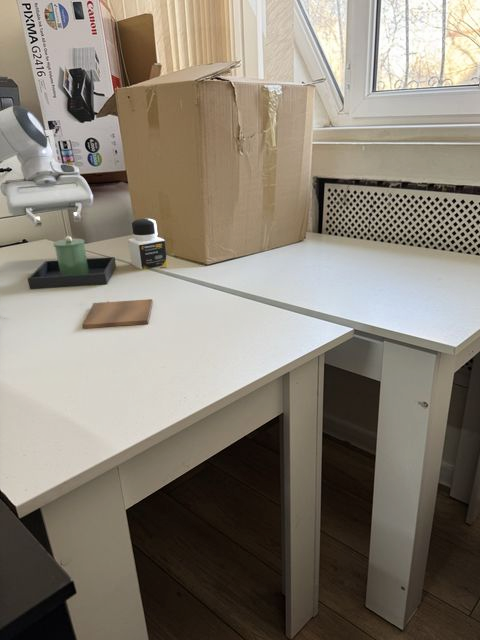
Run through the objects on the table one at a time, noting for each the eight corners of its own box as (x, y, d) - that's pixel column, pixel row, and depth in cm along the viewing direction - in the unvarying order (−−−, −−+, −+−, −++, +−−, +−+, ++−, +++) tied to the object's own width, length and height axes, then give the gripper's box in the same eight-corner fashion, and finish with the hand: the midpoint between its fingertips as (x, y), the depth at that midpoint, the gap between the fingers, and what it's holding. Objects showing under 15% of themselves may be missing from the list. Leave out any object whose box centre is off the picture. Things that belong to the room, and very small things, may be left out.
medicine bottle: (142, 271, 128) (136, 223, 123) (131, 266, 133) (124, 219, 128) (168, 266, 131) (162, 219, 126) (156, 261, 137) (150, 215, 132)
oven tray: (30, 291, 116) (27, 278, 114) (47, 272, 129) (45, 261, 128) (107, 286, 117) (105, 273, 116) (116, 268, 131) (114, 256, 130)
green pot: (57, 282, 120) (48, 240, 115) (64, 273, 126) (56, 233, 122) (87, 280, 120) (80, 238, 116) (93, 272, 127) (85, 232, 122)
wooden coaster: (82, 328, 94) (82, 324, 94) (94, 306, 105) (93, 303, 105) (148, 323, 96) (147, 320, 95) (152, 302, 106) (152, 299, 106)
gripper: (-3, 172, 121) (12, 220, 118) (83, 166, 131) (100, 209, 127) (-1, 190, 127) (14, 235, 123) (82, 182, 136) (98, 225, 132)
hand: (58, 222), depth 125 cm, fingers open, 8 cm apart
